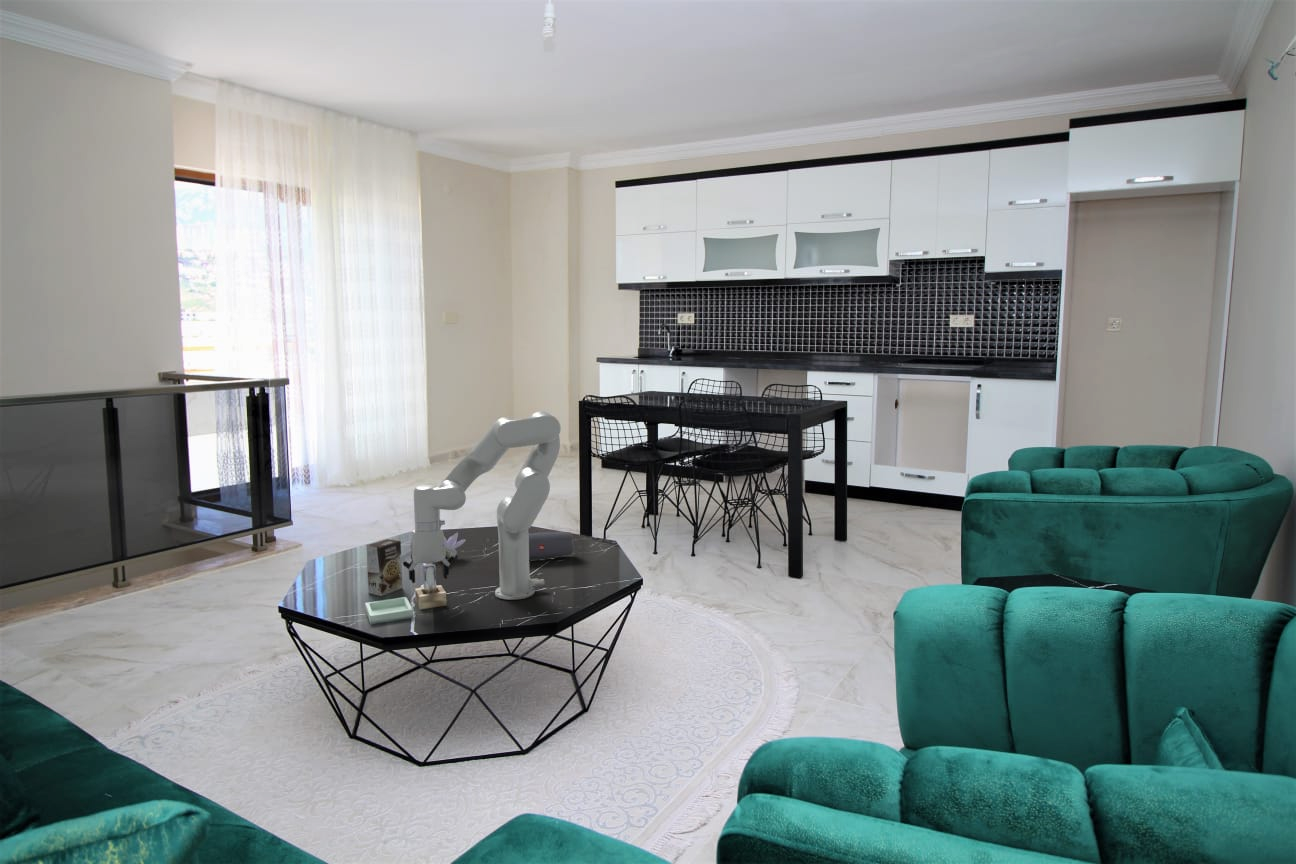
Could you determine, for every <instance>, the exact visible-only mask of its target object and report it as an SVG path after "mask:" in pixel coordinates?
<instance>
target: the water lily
mask: <svg viewBox="0 0 1296 864" xmlns="http://www.w3.org/2000/svg"><path fill="white" fill-rule="evenodd" d="M458 536H459V532H456V533H454V534H453V535H451V536H449V537H448V539H447V538H446V537H445V536H444V540H445V546H447V547H450V548H453V549H455V550H456V549H457V548H459V547H460V546H462V545H463V544H464V543H465V542H466V541H467V539H461V540H459V541H457V540H458ZM457 553H458V552H457ZM457 553H456V555H457ZM450 555H451V553H450V552H448V551H446V557H447V558H448V557H449V556H450Z"/></svg>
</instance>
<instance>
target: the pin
mask: <svg viewBox="0 0 1296 864" xmlns="http://www.w3.org/2000/svg"><path fill="white" fill-rule="evenodd" d="M422 567H423V569H422V570H423V588H424V594H430V593H436V586H437V572H436V564H434V563H426V564H424V565H423V566H422Z"/></svg>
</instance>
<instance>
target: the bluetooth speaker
mask: <svg viewBox="0 0 1296 864" xmlns="http://www.w3.org/2000/svg"><path fill="white" fill-rule="evenodd" d="M528 533H529V532H528ZM572 537H573V535H572V532H571V531H546V532H543V531H542V532H531V533H529V560H540V559H550V558H555V559H556V558H557V557H562V556H570V555H573V549H574V548H573V538H572ZM540 561H541V560H540Z"/></svg>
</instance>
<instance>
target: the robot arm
mask: <svg viewBox="0 0 1296 864" xmlns="http://www.w3.org/2000/svg"><path fill="white" fill-rule="evenodd" d="M560 434H561V424H560V421H559V420H558V418H556V417H555V416H553V415H552V414H550V413H548V412H546V411H542V410H541V411H540V410H539V411H535V412H534V413H532V414H531V416H530V417H528V418H521V419H514V418H511V417H507V416H502V417H500V418H499V419H497V420H496V421H495V422H494V423H493V424H492V426H491V427H490V428H489V429H488V430H487V432H486V433H485V434H484V435H483V436H482V438H481V439H480V440H479V441H478V443H476V445H475V446H474V447H473V448H472V450H471V451H470V452H469V453H467V454H466V455H465V457H464V458H463V459H461V461H459V462H458V464H457V465H455V467H454V468H453V469H452V470H451V471H450V472H449V474H448V475H447V476H446V477H445V479H444V480H443V481H442V482H441V483H440V486H439V487H438V486H437V485H433V484H424V485H423V484H422V485H418V486H415V487H414V489H413V515H414V517H413V518H414V529H413V530H411V536H410V549H408V550H407V551H405V552H404V553H401V556H399V559H400V560H401V563H402V565H403V566H404V567H405V568H406V569H407V570H408V578H409V581H411V583H412V584H415V583H416V570H415V567H416V566H417V565H419V564H422V565H423V564H431V563H436V562H437V563H438V562H442V563H443V564H442V577H443V579H445V580H446V579H448V576H449V574H450V573H449V570H450V569H449V567H450V564H451V563H452V562H453V561H454V560H455V558H456V556H457V554H456V553H458V551H457V550H456V548H455V549H453V548H450V547H447V546H445V540H444V537H445V535H444V531H443V527H442V526H444V525H446V520H445V519H443V520H442V519H441V515H440V514H441V510H446V511H456V510H459V509H461V508H462V507H463V506H464V505H465V503H466V500H467V499H466V498H467V497H466V493H465V492H466V491H467V490H468V488H469V487H470V486H471V485H472V484H473V483H474V481H476V479H478V478H479V477H480V476H481V475H483V474H486V473H489V472H490V471H491V470H492V469H494V468H495V466H496V465H497V464H498V463H499V462H500V461H501V459H502V458H503V457H504V455H505V454H506V453H507V452H508V450H509V449H513V448H522V447H523V448H524V447H529V446H531V447H532V448H531V450H530V452H529V454H528V456H527V457H526V459H525V461H524V463H523V465H522V467H521V469H520V470H519V472H518V473H517V475H516V476H515V481H514V485H515V488H516V491H515V492H514V495H509V496H506V497H504V498H503V499H501V500H500V502H499V504H498V505H497V507H496V524H497V533H498V535H497V536H498V569H499V570H498V572H499V587H497V588H496V589H495V591H494V595H495V596H496V598H498V599H501V600H507V601H508V600H510V601H512V600H513V601H516V600H522V599H527V598H530V597H532V596H533V595H534V594H535V592H536V590H535V588H536V587H537V586H544V585H545V579H544V578H542V579H539V578H537V577H536V578H531V576H530V561H529V529H530V528H531V527H532V525H534V522H535V520H536V519H537V518H538V515H539V514H540V511H541V510H542V508H543V506H544V504H545V503H546V501H547V499H548V497H549V494H550V490H551V485H550V480H549V478H548V477H549V475H550V473H551V472H552V470H553V468H554V466H555V463H556V461H557V459H558V458H559V457H558V456H559V454H560V448H561V439H560V438H561V437H560ZM446 551H448V552H450V553H451V555H449V557H448V556H447V553H446ZM409 557H410V561H409V562H407V560H406V559H407V558H409ZM446 557H447V558H446Z"/></svg>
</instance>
